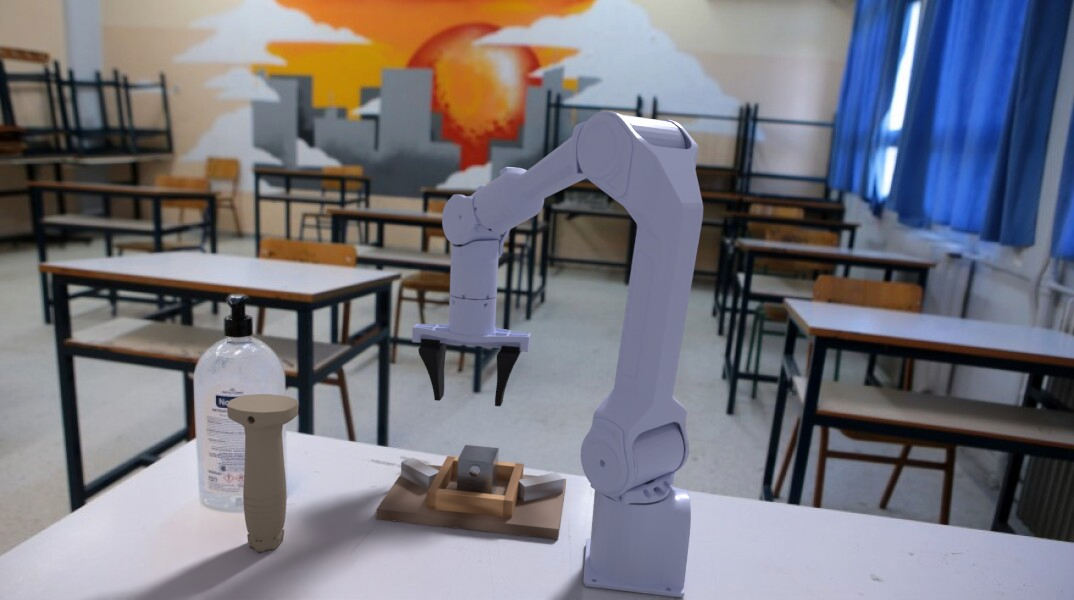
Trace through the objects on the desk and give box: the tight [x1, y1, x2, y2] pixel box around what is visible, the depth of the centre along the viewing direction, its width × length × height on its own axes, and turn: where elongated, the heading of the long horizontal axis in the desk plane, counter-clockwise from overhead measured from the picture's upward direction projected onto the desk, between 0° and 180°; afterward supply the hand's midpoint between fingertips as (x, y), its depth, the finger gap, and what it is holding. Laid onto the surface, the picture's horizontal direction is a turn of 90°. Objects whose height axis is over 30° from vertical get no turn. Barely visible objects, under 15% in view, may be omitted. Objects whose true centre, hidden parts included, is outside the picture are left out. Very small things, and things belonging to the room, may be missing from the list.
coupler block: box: [457, 444, 500, 494], centre depth 78 cm, size 4×5×5 cm
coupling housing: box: [375, 455, 567, 540], centre depth 79 cm, size 20×12×3 cm, turn 84°
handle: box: [226, 393, 299, 553], centre depth 67 cm, size 5×6×15 cm
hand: (468, 400), depth 85 cm, fingers open, 7 cm apart
